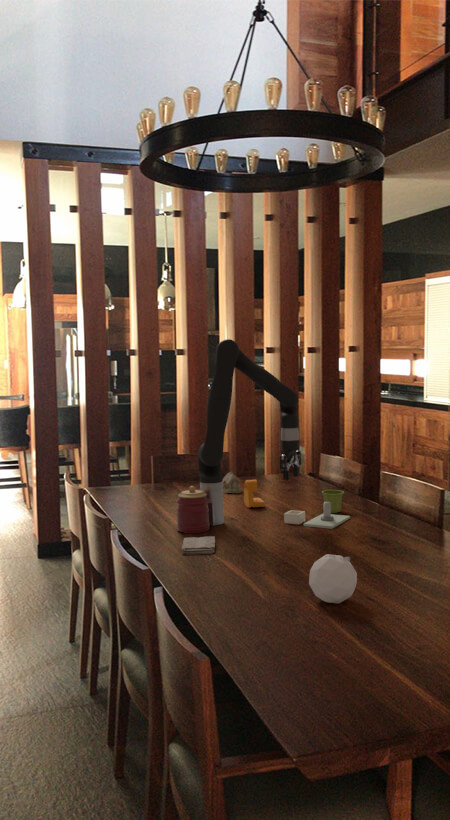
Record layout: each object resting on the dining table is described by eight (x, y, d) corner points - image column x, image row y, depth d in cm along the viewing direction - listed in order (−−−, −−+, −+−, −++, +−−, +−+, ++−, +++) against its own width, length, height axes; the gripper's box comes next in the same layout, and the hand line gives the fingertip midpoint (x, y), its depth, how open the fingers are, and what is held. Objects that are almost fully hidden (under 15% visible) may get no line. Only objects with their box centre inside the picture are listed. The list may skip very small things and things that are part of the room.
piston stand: (331, 528, 298) (331, 508, 297) (303, 526, 304) (303, 506, 303) (350, 518, 315) (349, 499, 314) (322, 515, 321) (322, 496, 320)
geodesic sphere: (364, 572, 220) (335, 536, 219) (375, 587, 206) (344, 548, 205) (325, 603, 220) (296, 567, 219) (334, 620, 207) (302, 582, 206)
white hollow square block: (298, 524, 306) (298, 514, 306) (284, 523, 310) (284, 513, 309) (305, 521, 312) (305, 511, 312) (291, 519, 315) (290, 510, 315)
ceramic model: (216, 490, 387) (216, 470, 386) (237, 488, 390) (237, 468, 389) (225, 495, 373) (225, 474, 373) (247, 493, 377) (246, 472, 376)
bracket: (265, 508, 340) (264, 481, 339) (249, 509, 339) (248, 482, 338) (259, 503, 351) (258, 477, 350) (244, 504, 349) (243, 478, 348)
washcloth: (181, 556, 266) (181, 547, 266) (182, 543, 284) (182, 535, 284) (215, 555, 266) (215, 546, 266) (214, 542, 284) (214, 534, 284)
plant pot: (343, 509, 332) (343, 489, 332) (344, 514, 323) (344, 493, 322) (321, 509, 333) (321, 489, 333) (322, 514, 324) (322, 494, 323)
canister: (205, 534, 294) (204, 489, 293) (173, 533, 297) (171, 488, 296) (213, 526, 307) (211, 483, 306) (181, 526, 310) (180, 482, 308)
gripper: (290, 441, 304) (291, 481, 305) (306, 436, 316) (307, 475, 317) (273, 440, 308) (274, 480, 310) (289, 436, 320) (291, 474, 321)
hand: (291, 478), depth 313 cm, fingers open, 8 cm apart
